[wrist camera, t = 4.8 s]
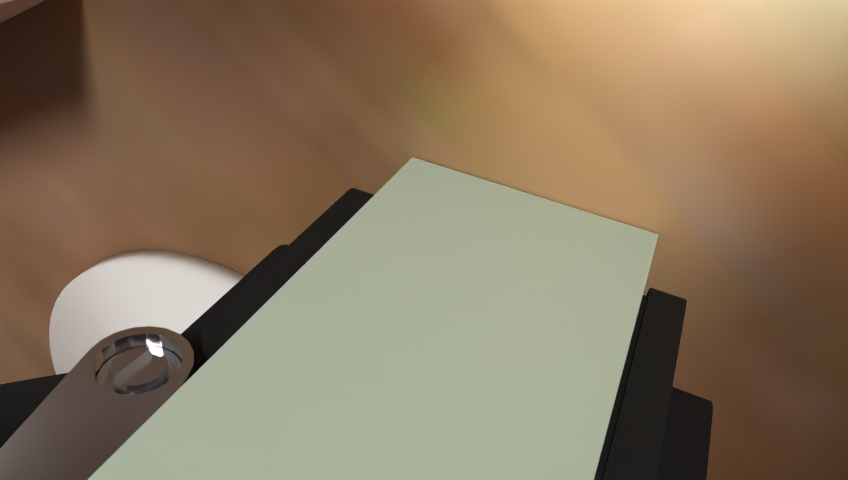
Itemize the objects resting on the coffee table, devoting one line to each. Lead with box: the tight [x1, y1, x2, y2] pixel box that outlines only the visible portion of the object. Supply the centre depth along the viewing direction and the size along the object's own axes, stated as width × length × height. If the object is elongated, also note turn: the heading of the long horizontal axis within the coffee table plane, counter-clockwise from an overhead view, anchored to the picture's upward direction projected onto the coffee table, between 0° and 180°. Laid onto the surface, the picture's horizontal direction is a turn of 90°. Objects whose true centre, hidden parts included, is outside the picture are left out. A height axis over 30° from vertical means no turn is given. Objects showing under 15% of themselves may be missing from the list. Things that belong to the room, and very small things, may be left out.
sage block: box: [88, 157, 658, 480], centre depth 9 cm, size 4×4×7 cm
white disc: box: [49, 250, 244, 375], centre depth 17 cm, size 10×10×1 cm
